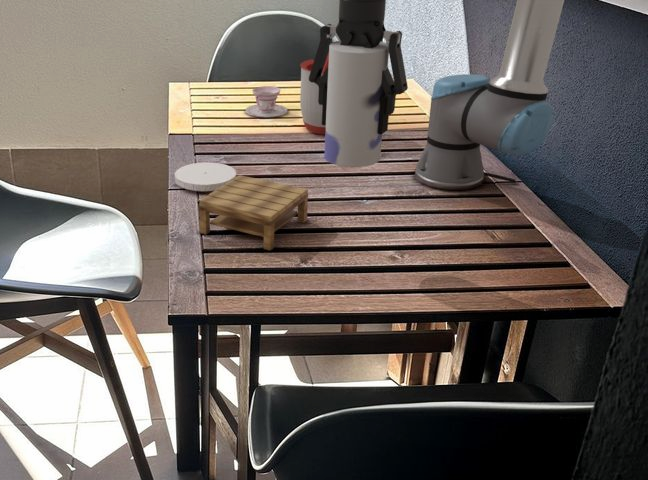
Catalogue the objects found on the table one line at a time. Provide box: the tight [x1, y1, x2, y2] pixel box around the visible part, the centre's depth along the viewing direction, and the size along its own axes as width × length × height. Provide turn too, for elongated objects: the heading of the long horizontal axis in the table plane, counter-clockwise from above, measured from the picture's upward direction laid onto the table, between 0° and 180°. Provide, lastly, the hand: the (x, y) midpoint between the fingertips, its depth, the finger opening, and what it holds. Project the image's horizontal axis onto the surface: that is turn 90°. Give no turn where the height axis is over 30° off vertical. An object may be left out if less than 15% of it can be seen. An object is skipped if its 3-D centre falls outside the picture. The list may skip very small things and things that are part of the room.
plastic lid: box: [174, 161, 237, 192], centre depth 184 cm, size 14×14×2 cm
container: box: [323, 40, 390, 168], centre depth 141 cm, size 10×10×20 cm
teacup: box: [245, 85, 288, 118], centre depth 230 cm, size 12×12×6 cm
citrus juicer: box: [299, 53, 329, 135], centre depth 213 cm, size 16×17×20 cm
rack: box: [198, 174, 309, 251], centre depth 163 cm, size 16×16×7 cm
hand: (354, 127), depth 143 cm, fingers closed on container, 10 cm apart
